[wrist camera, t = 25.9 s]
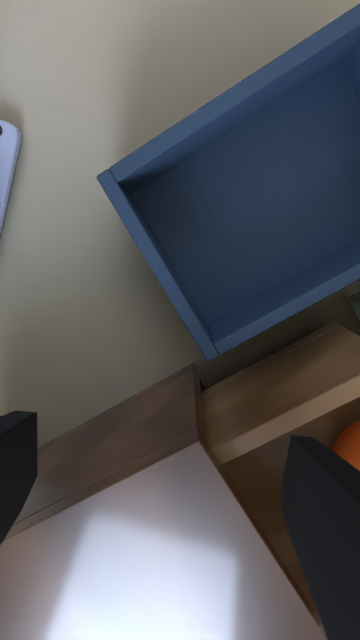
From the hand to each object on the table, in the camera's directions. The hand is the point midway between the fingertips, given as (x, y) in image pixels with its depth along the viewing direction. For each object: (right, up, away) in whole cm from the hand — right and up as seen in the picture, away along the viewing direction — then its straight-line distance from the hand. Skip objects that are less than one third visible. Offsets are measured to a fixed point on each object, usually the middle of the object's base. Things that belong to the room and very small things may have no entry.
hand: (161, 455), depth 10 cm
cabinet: (-1, -7, +11) cm, 13 cm away
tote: (+5, +10, +7) cm, 13 cm away
